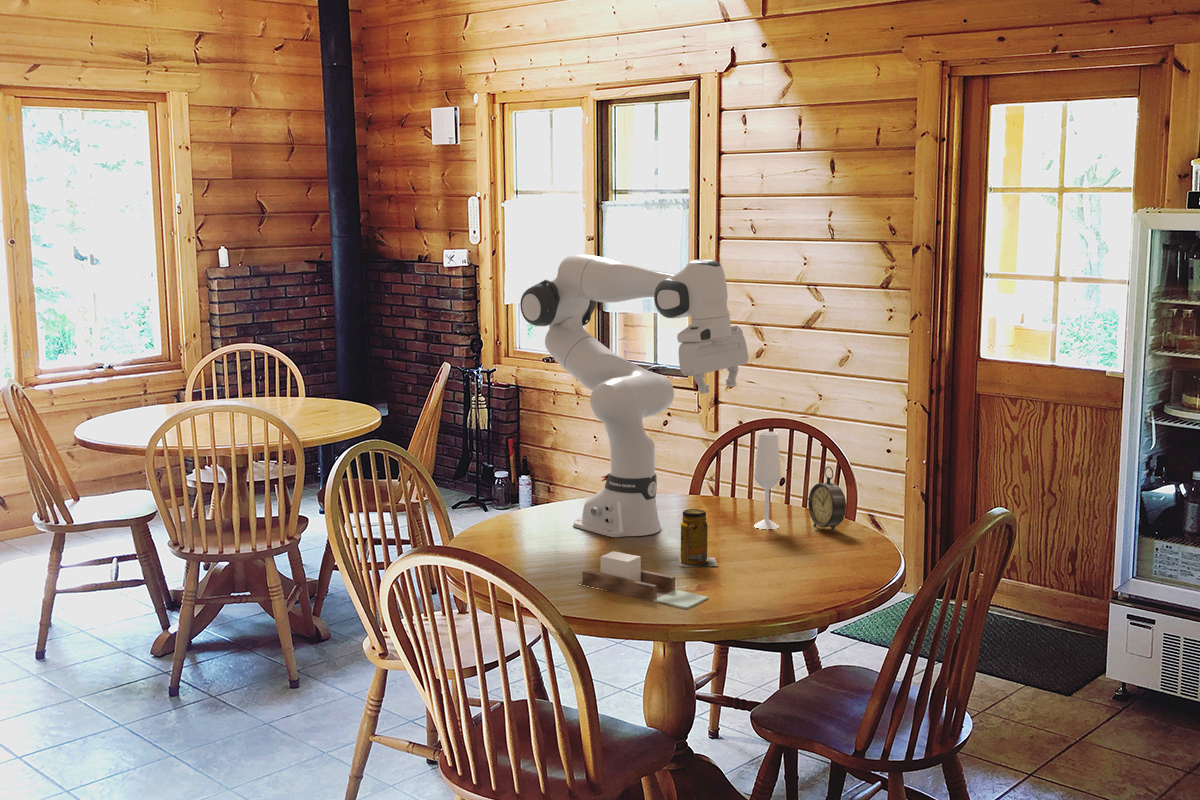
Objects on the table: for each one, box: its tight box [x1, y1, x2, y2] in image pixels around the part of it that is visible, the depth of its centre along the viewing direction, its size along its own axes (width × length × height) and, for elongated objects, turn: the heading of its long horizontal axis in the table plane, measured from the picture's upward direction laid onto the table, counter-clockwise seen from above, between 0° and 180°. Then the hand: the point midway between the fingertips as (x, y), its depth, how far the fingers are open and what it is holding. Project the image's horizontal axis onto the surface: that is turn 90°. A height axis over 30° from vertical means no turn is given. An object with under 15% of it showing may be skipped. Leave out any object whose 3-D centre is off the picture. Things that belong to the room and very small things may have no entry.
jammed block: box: [600, 550, 642, 582], centre depth 249 cm, size 7×5×6 cm
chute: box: [578, 569, 709, 610], centre depth 246 cm, size 27×8×3 cm, turn 54°
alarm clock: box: [807, 466, 847, 535], centre depth 293 cm, size 11×5×16 cm, turn 23°
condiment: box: [677, 508, 719, 568], centre depth 266 cm, size 7×8×12 cm
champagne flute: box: [753, 431, 782, 531], centre depth 296 cm, size 7×7×24 cm
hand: (718, 389), depth 271 cm, fingers open, 8 cm apart
